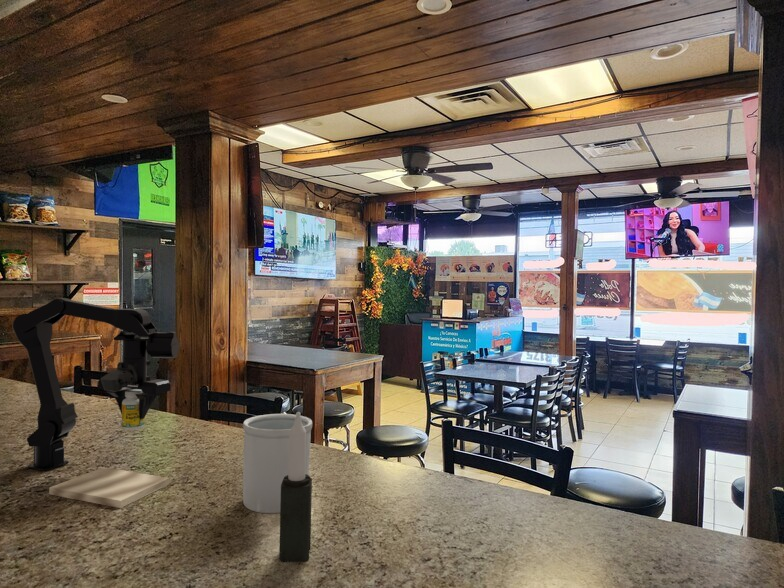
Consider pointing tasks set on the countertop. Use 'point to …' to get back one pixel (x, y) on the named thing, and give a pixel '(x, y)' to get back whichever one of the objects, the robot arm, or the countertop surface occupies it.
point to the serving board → (109, 487)
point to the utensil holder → (268, 459)
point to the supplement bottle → (131, 411)
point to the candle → (296, 500)
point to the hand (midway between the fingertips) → (133, 417)
